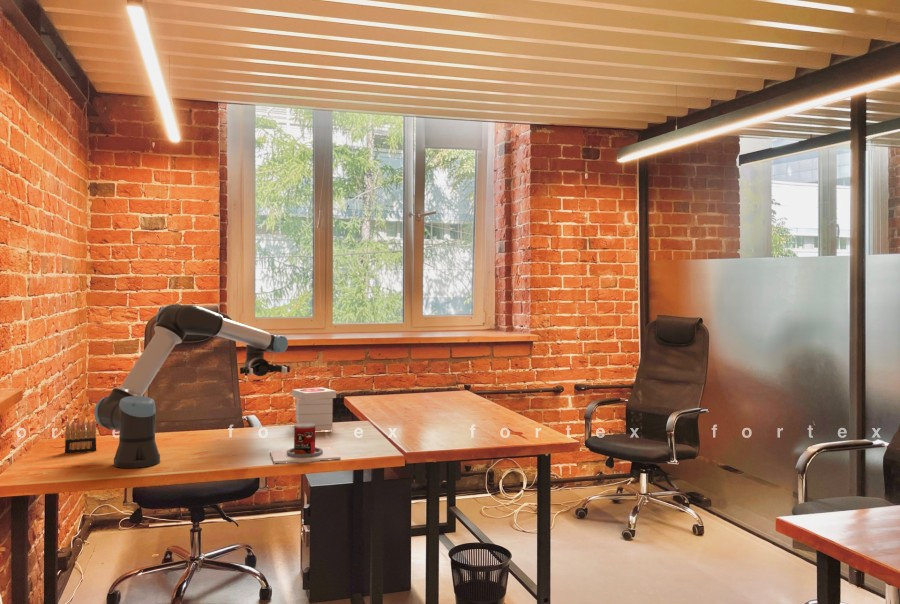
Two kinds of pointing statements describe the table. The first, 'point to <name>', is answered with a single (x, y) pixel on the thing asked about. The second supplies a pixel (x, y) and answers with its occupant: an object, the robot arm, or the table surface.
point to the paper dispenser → (315, 406)
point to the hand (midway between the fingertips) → (269, 371)
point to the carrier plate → (304, 455)
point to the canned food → (304, 438)
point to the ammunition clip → (80, 438)
